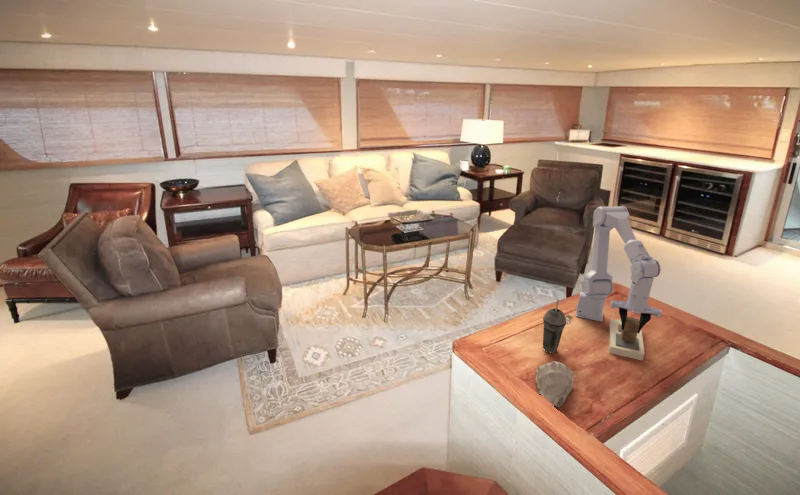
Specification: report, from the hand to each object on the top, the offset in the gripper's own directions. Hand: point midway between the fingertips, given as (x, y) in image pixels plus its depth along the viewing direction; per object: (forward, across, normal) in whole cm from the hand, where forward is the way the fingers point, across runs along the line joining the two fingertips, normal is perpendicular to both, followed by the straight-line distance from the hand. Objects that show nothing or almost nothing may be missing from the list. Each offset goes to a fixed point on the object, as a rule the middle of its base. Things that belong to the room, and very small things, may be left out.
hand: (630, 330), depth 141 cm
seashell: (+8, -19, -33) cm, 39 cm away
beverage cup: (+8, -24, -12) cm, 27 cm away
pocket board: (+8, 0, +5) cm, 9 cm away
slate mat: (+5, 0, 0) cm, 5 cm away
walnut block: (+3, 0, 0) cm, 4 cm away
